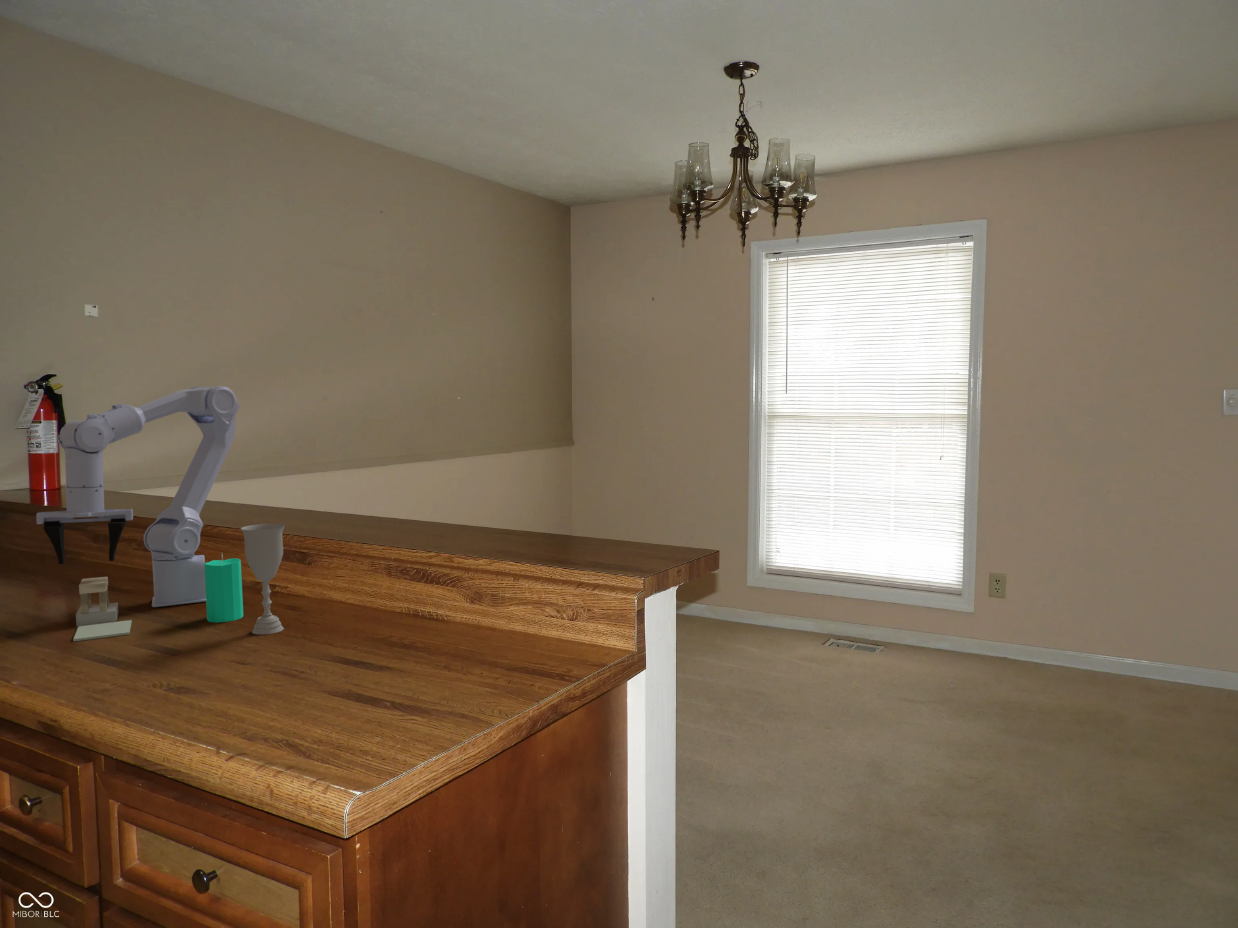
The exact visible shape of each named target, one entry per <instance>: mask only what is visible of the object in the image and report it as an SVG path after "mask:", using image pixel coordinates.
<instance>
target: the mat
mask: <svg viewBox="0 0 1238 928" xmlns="http://www.w3.org/2000/svg"><path fill="white" fill-rule="evenodd" d="M132 623H133V622H132V619H130V620H121V621H116V622H109V623H100V624H92V625H83V626H77V629H76V632H75V634H74V636H73V639H72V641H73V642H81V641H89V640H97V639H106V638H112V637H121V636H128V635H130V633H131V627H132Z"/></svg>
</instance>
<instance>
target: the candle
mask: <svg viewBox="0 0 1238 928" xmlns="http://www.w3.org/2000/svg"><path fill="white" fill-rule="evenodd" d="M223 558H224V557H223V552H221V560H220V559H218V560H217V559H213V560H211V561H209V562H205V563H204V571H205V590H206V601H205V605H206V606H205V607H206V608H205V609H206V621H208V622H209V623H226V622H227V623H228V622H233V621H237V620H240V619H242V618H243V617H244V604H243V602H244V601H243V600H244V599H243V581H242V580H243V579H242V563H241V562H242V561H241V559H240V558H235V557H234V558H233V557H232V558H228V559H223Z"/></svg>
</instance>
